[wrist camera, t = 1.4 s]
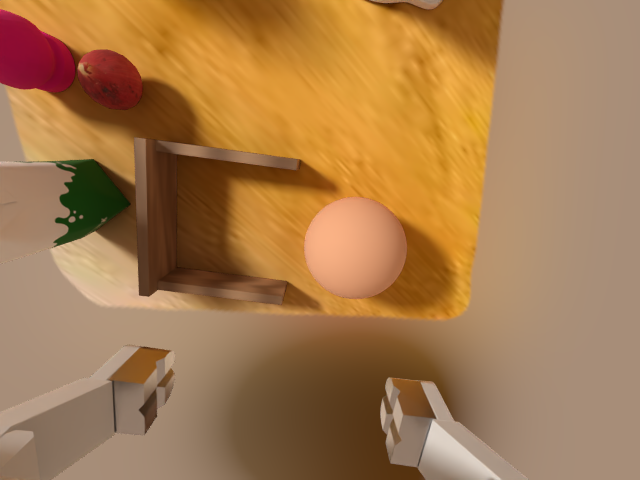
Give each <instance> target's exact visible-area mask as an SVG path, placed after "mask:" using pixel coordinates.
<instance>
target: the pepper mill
mask: <svg viewBox="0 0 640 480" xmlns="http://www.w3.org/2000/svg"><path fill="white" fill-rule="evenodd" d="M74 77H75V63H74V60H73V57H72V55H71V53H70V51H69V50H68V48H67V47H66V46H65V45H64V44H63V43H62V42H61V41H60V40H58V39H57V38H55V37H53V36H51V35H49V34H46V33H44V32H42V31H40V30H39V29H38V28H37V27H36V26H35V25H34V24H32V23H31V22H30V21H28V20H27V19H25V18H23V17H21V16H19V15H16V14H13V13H11V12H8V11H5V10H1V9H0V83H2V84H5V85H8V86H11V87H14V88H18V89H34V88H37V89H40V90H44V91H48V92H61V91H64V90H65V89H67V88H68V87H69V86H70V85H71V84H72V82H73V80H74Z"/></svg>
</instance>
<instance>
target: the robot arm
mask: <svg viewBox="0 0 640 480" xmlns="http://www.w3.org/2000/svg"><path fill="white" fill-rule="evenodd" d="M371 1H374V2H380V3H397V2H409V3H411V4H413V5H416V6H418V7H421V8H424V9H434V8H436V7H437V6H438V5H439V4H440V3H441V2H442V1H443V0H371ZM174 362H175V353H174V352H173V351H170V350H163V349H156V348H150V347H141V346H134V345H125V346H123V347H122V348H121V349H120V350H119V351H118V352H117V353H115V354H114V355H113V356H112V357H111V358H110V359H109V360H108V361H107V362H106V363H105V364H104V365H102V366H101V367H100V368H99V369H98V370H97V371H96V372H95V373H94V374H93V375H92V376H91V377H89V378H82V379H80V380H77V381H74V382H72V383H70V384H67V385H65V386H62V387H60V388H58V389H55V390H53V391H50V392H48V393H46V394H43V395H41V396H38V397H36V398H33V399H31V400H28V401H26V402H24V403H21V404H19V405H16V406H14V407H11V408H9V409H7V410H4V411H2V412H0V480H52V479H53V478H54V477H56V476H57V475H59V474H60V473H61V472H63V471H64V470H66V469H67V468H68V467H70V466H71V465H73V464H74V463H75V462H77V461H78V460H80V459H81V458H83V457H84V456H85V455H87V454H88V453H90V452H91V451H92V450H94V449H95V448H97V447H98V446H99V445H101V444H102V443H104V442H105V441H106V440H108V439H109V438H111V437H112V436H114V435H115V433H123V434H134V435H145V434H146V432H147V431H148V429H149V428H150V426H151V425H152V423H153V421H154V420H155V418H156V417H157V409H158V408H159V407H161V406H163V405H165V403H166V401H167V400H168V398H169V397H170V394H171V391H172V389H173V385H174V380H175V373H174V371H173V370H172V369H171V367H172V365H173V364H174ZM385 388H386V392H387V395H386V396H385V397H383V399H382V404H381V424H382V428H383V431H384V432H385V433H386V434H387V439H386V446H387V450H388V455H389V459H390V463H392V464H399V465H407V466H414V467H418V469H419V471H420V472H421V473H422V474H423V476H424V477H425V479H426V480H528V479H527V478H526V477H525V476H524V475H522V474H521V473H520V472H519V471H518V470H516V469H515V468H514V467H513V466H511V465H510V464H509V463H508V462H507V461H505V460H504V459H503V458H502V457H501V456H499V455H498V454H497V453H496V452H495V451H493V450H492V449H491V448H490V447H489V446H487V445H486V444H485V443H484V442H482V441H481V440H480V439H479V438H478V437H476V436H475V435H474V434H473V433H472V432H470V431H469V430H468V429H467V428H465V427H464V426H463V425H461V423H459V422H454V420H453V418H452V416H451V414H450V412H449V410H448V408H447V406H446V405H445V403H444V401H443V399H442V397H441V395H440V393H439V391H438V389H437V387H436V385H435V384H434V383H433V382H429V381H419V380H418V381H415V380H405V379H398V378H388V380H387V382H386V386H385Z"/></svg>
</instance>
